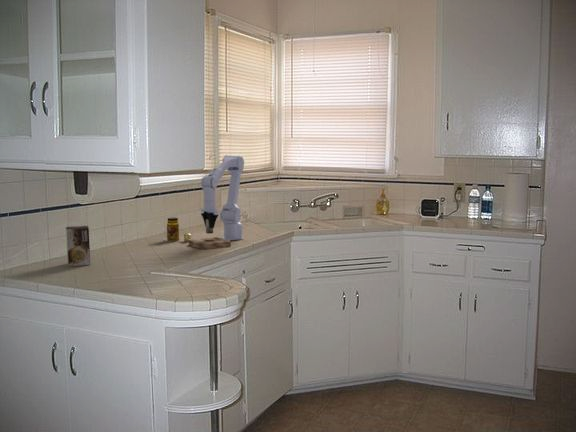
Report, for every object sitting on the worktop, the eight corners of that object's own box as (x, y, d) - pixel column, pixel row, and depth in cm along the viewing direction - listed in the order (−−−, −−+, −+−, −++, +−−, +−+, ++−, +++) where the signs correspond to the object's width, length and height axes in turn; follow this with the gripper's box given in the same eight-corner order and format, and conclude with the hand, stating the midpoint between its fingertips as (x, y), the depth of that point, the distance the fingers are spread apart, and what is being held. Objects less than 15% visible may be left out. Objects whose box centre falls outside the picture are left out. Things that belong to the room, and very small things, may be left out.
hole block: (216, 241, 332) (216, 237, 332) (230, 246, 321) (230, 241, 321) (188, 245, 323) (188, 240, 323) (202, 249, 312) (202, 244, 311)
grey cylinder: (210, 232, 324) (210, 218, 323) (214, 232, 321) (214, 219, 320) (204, 232, 321) (204, 218, 320) (208, 233, 318) (208, 219, 317)
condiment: (169, 242, 330) (168, 219, 328) (163, 239, 337) (162, 217, 335) (182, 241, 333) (182, 218, 332) (176, 238, 341) (176, 216, 339)
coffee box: (89, 262, 280) (88, 225, 278) (90, 265, 275) (89, 227, 272) (67, 263, 277) (65, 226, 275) (67, 266, 271) (66, 228, 269)
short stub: (189, 240, 335) (189, 233, 334) (192, 241, 332) (192, 234, 331) (182, 241, 333) (182, 233, 332) (186, 242, 330) (186, 234, 329)
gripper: (195, 199, 322) (195, 226, 324) (209, 202, 311) (209, 230, 313) (207, 198, 326) (207, 225, 328) (222, 201, 315) (222, 229, 317)
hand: (209, 227), depth 321 cm, fingers closed on grey cylinder, 4 cm apart
